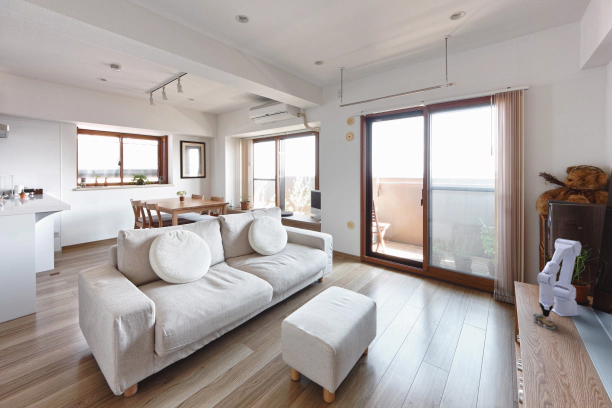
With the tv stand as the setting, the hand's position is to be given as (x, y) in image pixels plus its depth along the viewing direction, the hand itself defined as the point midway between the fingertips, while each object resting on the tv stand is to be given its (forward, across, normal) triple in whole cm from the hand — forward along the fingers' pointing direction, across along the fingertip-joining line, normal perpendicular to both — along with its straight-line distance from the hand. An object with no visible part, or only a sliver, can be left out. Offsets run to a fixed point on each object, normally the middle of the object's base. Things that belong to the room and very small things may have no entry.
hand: (545, 316), depth 152 cm
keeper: (+2, -5, +3) cm, 7 cm away
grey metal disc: (+2, -8, -1) cm, 8 cm away
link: (+1, -5, +1) cm, 5 cm away
